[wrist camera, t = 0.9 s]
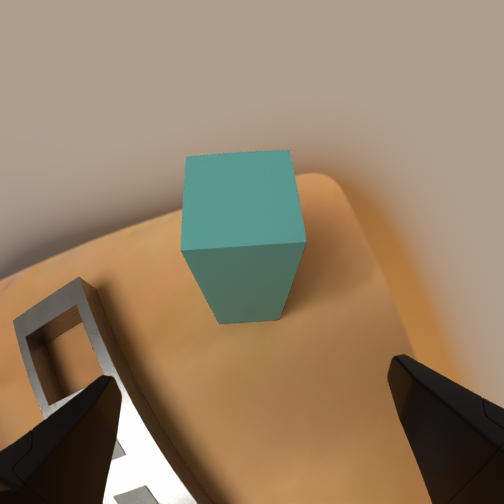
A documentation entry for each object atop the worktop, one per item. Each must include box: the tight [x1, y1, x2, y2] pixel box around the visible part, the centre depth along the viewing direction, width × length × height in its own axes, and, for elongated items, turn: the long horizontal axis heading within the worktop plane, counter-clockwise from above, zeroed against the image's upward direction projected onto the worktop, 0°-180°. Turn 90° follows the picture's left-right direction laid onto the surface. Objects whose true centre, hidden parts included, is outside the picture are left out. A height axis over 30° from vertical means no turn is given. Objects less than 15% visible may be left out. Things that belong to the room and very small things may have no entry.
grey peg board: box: [13, 277, 215, 504], centre depth 18 cm, size 21×8×3 cm, turn 32°
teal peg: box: [181, 150, 307, 324], centre depth 18 cm, size 4×4×13 cm
